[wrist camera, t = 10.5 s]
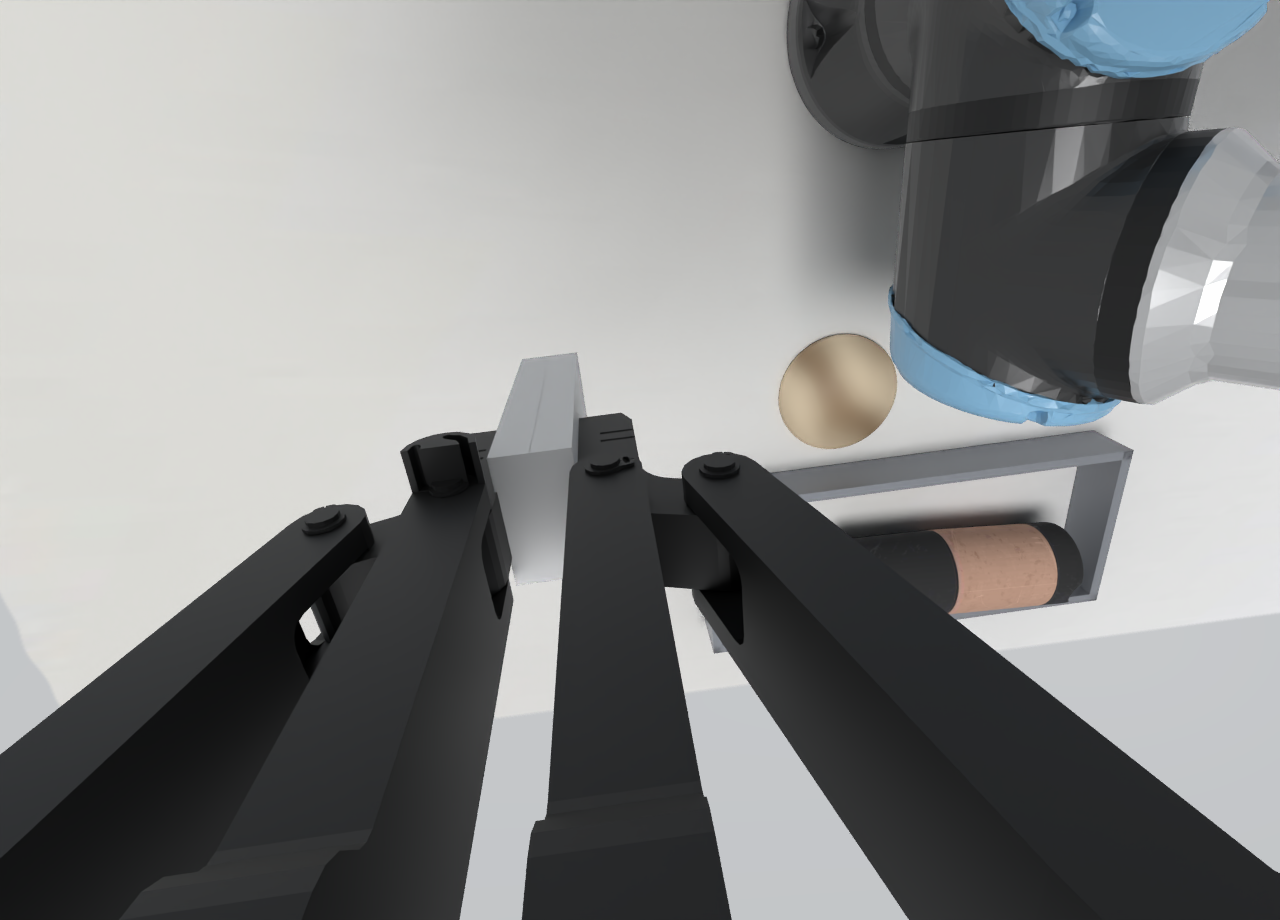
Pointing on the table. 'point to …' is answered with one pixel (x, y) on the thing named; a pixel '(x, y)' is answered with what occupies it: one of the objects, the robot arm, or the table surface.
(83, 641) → the table surface
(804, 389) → the cork coaster
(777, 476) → the tray
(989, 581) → the travel mug
